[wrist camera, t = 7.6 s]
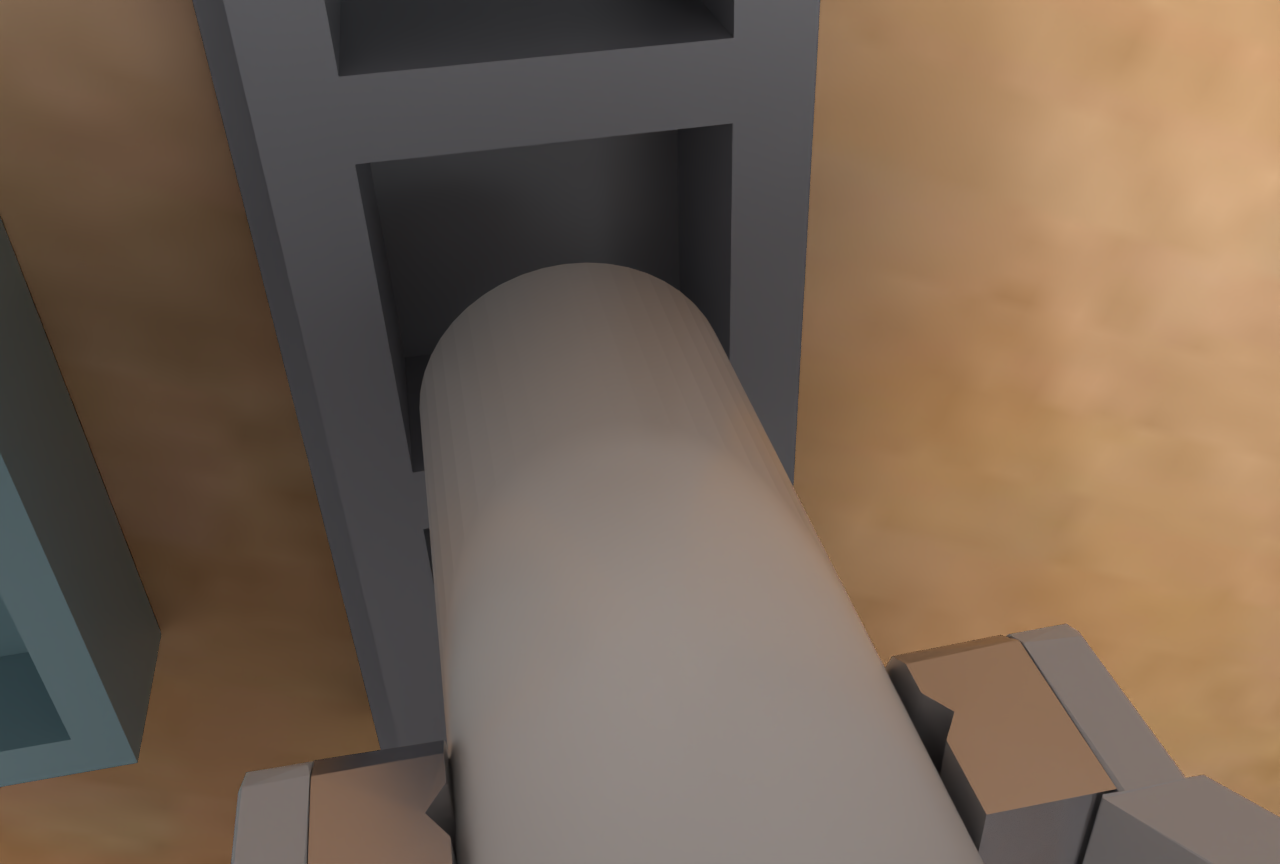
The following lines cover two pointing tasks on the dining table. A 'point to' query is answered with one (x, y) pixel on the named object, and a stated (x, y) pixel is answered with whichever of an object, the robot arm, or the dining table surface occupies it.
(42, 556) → the tray
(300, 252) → the grey slotted rack
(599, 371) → the capped peg
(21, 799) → the dining table surface
